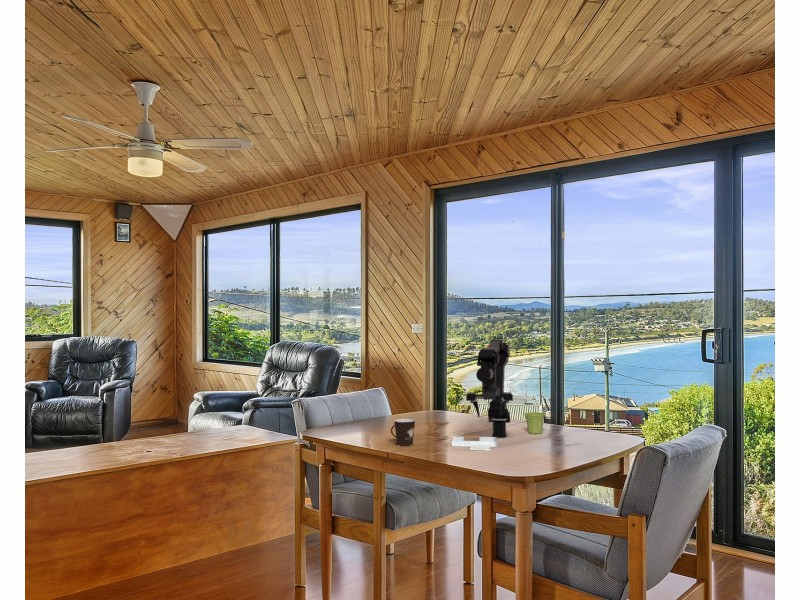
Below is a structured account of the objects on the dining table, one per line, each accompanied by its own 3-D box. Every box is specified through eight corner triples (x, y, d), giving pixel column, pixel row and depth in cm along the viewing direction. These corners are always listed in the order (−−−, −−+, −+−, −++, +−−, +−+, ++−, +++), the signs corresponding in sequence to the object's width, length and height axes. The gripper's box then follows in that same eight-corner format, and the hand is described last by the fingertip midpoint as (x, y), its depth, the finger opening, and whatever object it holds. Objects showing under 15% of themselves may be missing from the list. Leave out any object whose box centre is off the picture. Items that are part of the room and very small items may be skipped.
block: (464, 443, 256) (464, 433, 256) (479, 443, 255) (479, 433, 255) (464, 445, 251) (464, 435, 251) (479, 445, 250) (479, 435, 250)
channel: (453, 441, 259) (453, 436, 259) (496, 441, 257) (496, 437, 257) (451, 446, 249) (451, 441, 249) (496, 446, 247) (496, 441, 247)
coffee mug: (410, 442, 258) (410, 418, 259) (418, 446, 250) (418, 421, 251) (384, 444, 254) (384, 420, 254) (391, 448, 246) (391, 423, 246)
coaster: (470, 446, 248) (470, 444, 248) (490, 446, 247) (490, 444, 247) (469, 450, 240) (469, 448, 240) (490, 450, 239) (490, 448, 239)
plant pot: (520, 433, 277) (519, 413, 278) (532, 430, 284) (532, 411, 284) (537, 435, 270) (537, 415, 271) (550, 433, 277) (549, 413, 277)
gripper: (465, 381, 246) (466, 421, 246) (513, 381, 244) (514, 421, 243) (466, 378, 257) (466, 416, 257) (511, 378, 255) (512, 416, 254)
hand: (489, 417), depth 252 cm, fingers open, 8 cm apart
